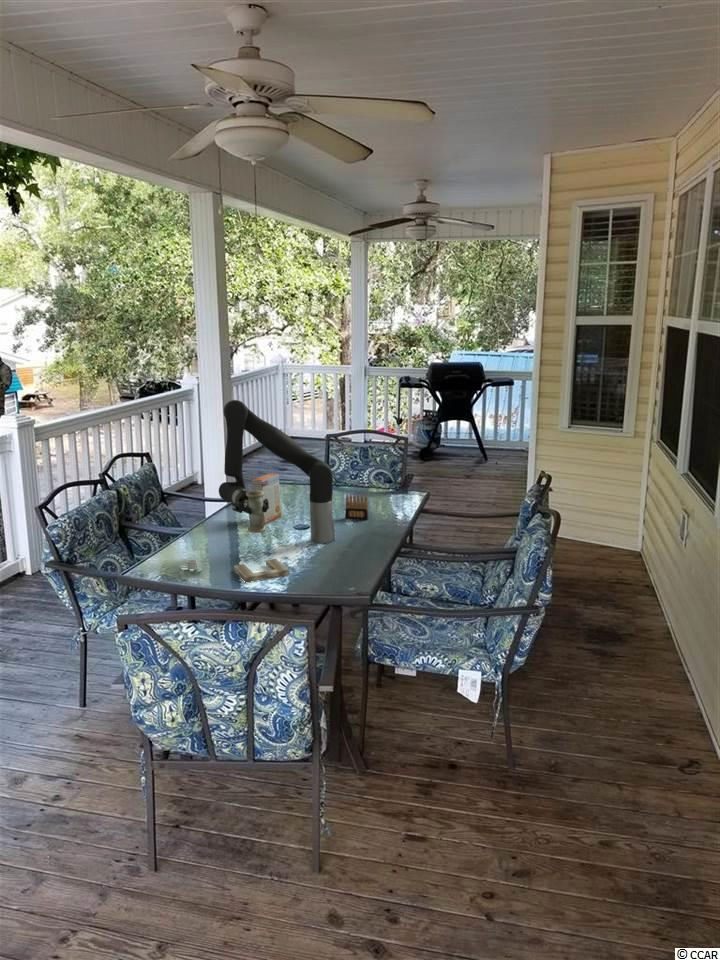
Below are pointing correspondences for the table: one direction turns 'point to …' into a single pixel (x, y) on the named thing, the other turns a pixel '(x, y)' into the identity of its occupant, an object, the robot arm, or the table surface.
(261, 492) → the bobbin
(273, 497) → the cracker box
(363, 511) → the ammunition clip
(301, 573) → the table surface
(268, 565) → the tan u-shaped bracket
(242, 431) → the robot arm
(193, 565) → the white curved piece
